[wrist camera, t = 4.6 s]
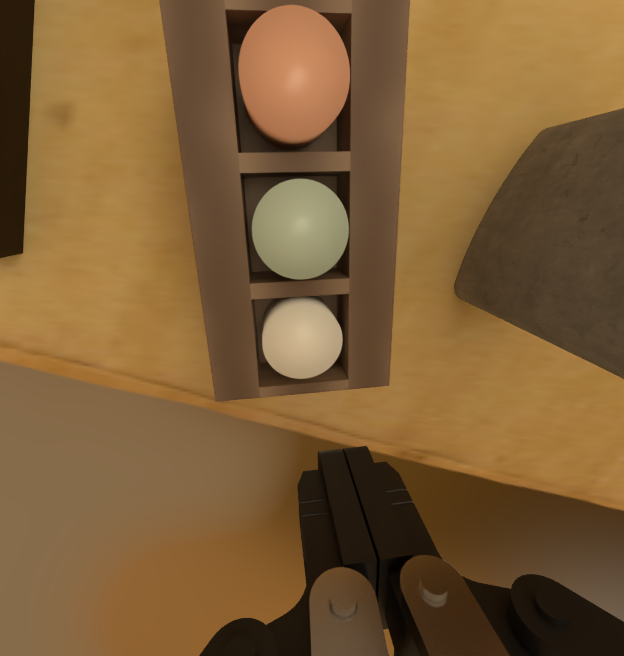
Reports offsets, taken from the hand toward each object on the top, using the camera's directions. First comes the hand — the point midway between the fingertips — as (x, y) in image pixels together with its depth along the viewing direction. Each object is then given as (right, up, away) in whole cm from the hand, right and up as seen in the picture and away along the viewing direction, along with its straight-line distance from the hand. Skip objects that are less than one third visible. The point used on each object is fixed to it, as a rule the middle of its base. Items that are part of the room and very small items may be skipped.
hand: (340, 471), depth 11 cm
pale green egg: (-2, +10, +10) cm, 14 cm away
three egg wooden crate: (-3, +13, +18) cm, 23 cm away
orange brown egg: (-2, +16, +7) cm, 18 cm away
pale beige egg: (-2, +5, +13) cm, 14 cm away
